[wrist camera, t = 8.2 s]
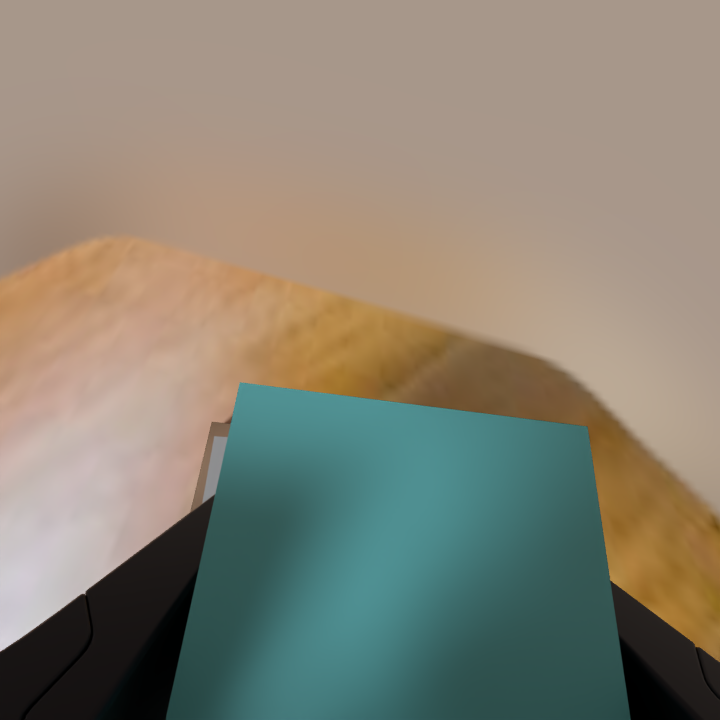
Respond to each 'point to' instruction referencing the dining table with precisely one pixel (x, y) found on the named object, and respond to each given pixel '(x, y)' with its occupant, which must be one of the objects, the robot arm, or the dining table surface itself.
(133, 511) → the dining table surface
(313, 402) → the teal block
